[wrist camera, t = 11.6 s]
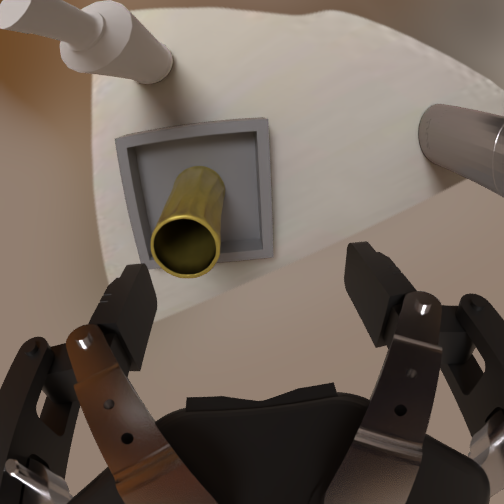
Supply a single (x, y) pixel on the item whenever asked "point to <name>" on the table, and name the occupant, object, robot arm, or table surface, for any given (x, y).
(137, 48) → the bottle
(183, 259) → the vase
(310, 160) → the table surface
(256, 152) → the bin
